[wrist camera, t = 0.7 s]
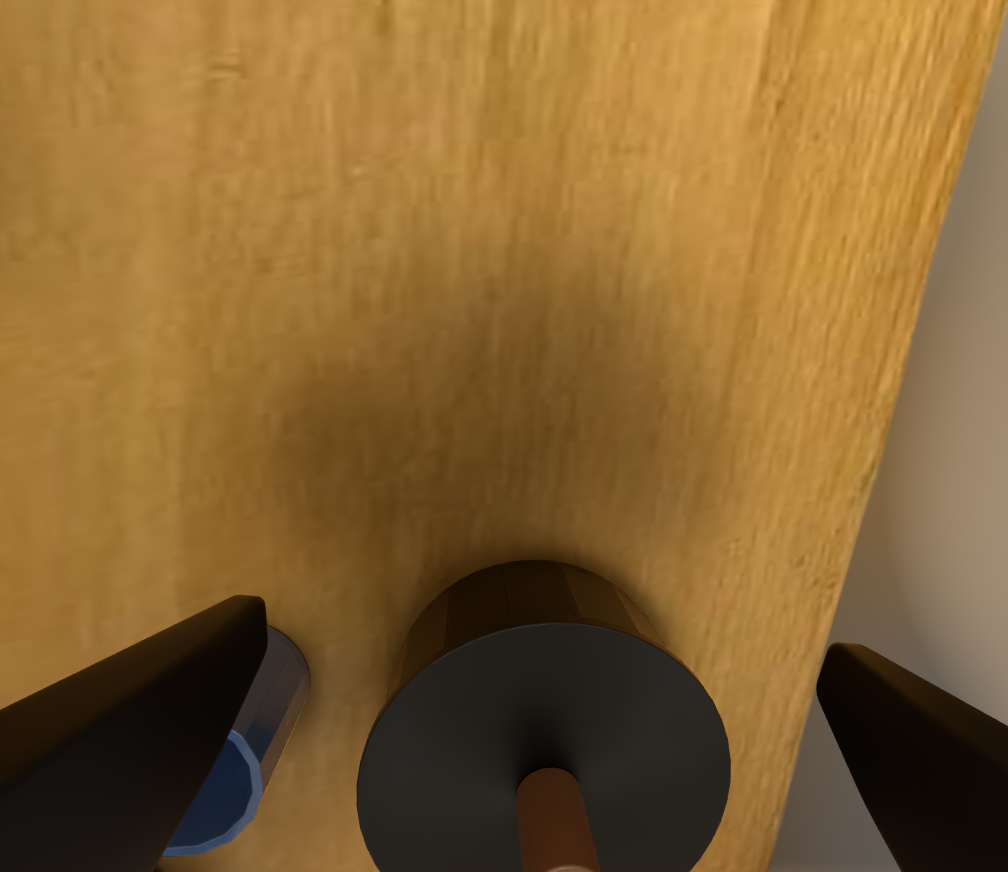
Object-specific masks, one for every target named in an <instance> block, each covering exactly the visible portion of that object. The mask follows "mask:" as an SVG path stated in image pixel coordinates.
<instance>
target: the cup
mask: <svg viewBox="0 0 1008 872" xmlns="http://www.w3.org/2000/svg"><path fill="white" fill-rule="evenodd" d="M267 632H268V646H267V651H266V654H265V657H264V659H263V661H262V663H261V666H260V668H259V670H258V672H257V674H256V677H255V679H254V681H253V683H252V686H251V688H250V690H249V692H248V694H247V697H246V699H245V701H244V703H243V705H242V708H241V710H240V712H239V714H238V716H237V719H236V721H235V723H234V725H233V727H232V730H231V732H230V734H229V736H228V738H227V740H226V742H225V745H224V747H223V749H222V751H221V753H220V755H219V757H218V758H217V760H216V762H215V764H214V766H213V767H212V769H211V771H210V773H209V775H208V776H207V778H206V780H205V782H204V783H203V785H202V787H201V789H200V790H199V792H198V794H197V796H196V797H195V799H194V801H193V803H192V804H191V806H190V808H189V809H188V811H187V813H186V815H185V816H184V818H183V820H182V822H181V823H180V825H179V827H178V829H177V830H176V832H175V834H174V836H173V837H172V839H171V841H170V843H169V844H168V846H167V848H166V850H165V851H164V853H163V855H162V856H167V857H169V856H183V855H197V854H202V853H205V852H207V851H210V850H212V849H214V848H217V847H219V846H221V845H224V844H226V843H229V842H231V841H232V840H233V839H234V838H235V837H236V836H237V835H238V834H239V833H240V832H241V831H242V830H243V829H244V828H245V827H246V826H247V825H249V824H250V823H251V822H252V821H253V819H254V818H255V816H256V813H257V811H258V809H259V807H260V804H261V802H262V800H263V798H264V796H265V793H266V791H267V789H268V787H269V784H270V782H271V780H272V778H273V776H274V773H275V771H276V769H277V767H278V764H279V762H280V760H281V758H282V756H283V753H284V751H285V749H286V747H287V744H288V742H289V740H290V738H291V736H292V733H293V731H294V729H295V727H296V724H297V722H298V720H299V718H300V715H301V712H302V710H303V707H304V705H305V703H306V701H307V697H308V694H309V687H310V678H309V672H308V668H307V665H306V662H305V660H304V658H303V656H302V654H301V652H300V651H299V649H298V648H297V647H296V646H295V645H294V643H293V642H292V641H291V640H289V639H288V638H287V637H286V636H285V635H283V634H282V633H280V632H279V631H277V630H275V629H273V628H271V627H269V626H267Z"/></svg>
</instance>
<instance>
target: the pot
mask: <svg viewBox="0 0 1008 872" xmlns="http://www.w3.org/2000/svg"><path fill="white" fill-rule="evenodd" d="M546 615H557V616H579V617H586V618H593V619H599V620H603V621H606V622H610V623H614V624H618V625H621V626H624V627H626V628H628V629H631V630H633V631H636V632H638V633H640V634H643V635H645V636H647V637H648V638H650V639H652V640H653V641H655V642H657V643H659V644H660V645H662V646H664V647H665V648H666V646H665V645H664V643H663V642H662V640H661V639H660V637H659V635H658V634H657V632H656V631H655V629H654V628H653V626H652V624H651V623H650V621H649V620H648V618H647V617H646V615H645V614H644V613H643V612H642V611H640V610H639V609H638V608H637V606H636V605H635V604H634V603H633V602H632V601H631V600H630V599H629V598H628V596H627V595H626V594H625V593H623V592H622V591H621V590H620V589H618V588H617V587H616V586H615V585H614V584H612V583H611V582H609V581H607V580H606V579H604V578H602V577H601V576H599V575H597V574H595V573H592V572H590V571H588V570H585V569H583V568H580V567H577V566H573V565H570V564H566V563H560V562H554V561H545V560H526V561H515V562H509V563H504V564H500V565H495V566H492V567H489V568H486V569H483V570H481V571H478V572H475V573H473V574H471V575H469V576H467V577H465V578H463V579H461V580H459V581H458V582H456V583H455V584H453V585H452V586H450V587H449V588H447V589H446V590H445V591H443V592H442V593H441V594H440V595H439V596H438V597H436V598H435V599H434V600H433V601H432V602H431V603H430V604H429V605H428V606H427V607H426V609H425V610H424V611H423V612H422V613H421V614H420V615H419V617H418V618H417V620H416V621H415V623H414V624H413V626H412V627H411V629H410V631H409V633H408V635H407V637H406V639H405V641H404V643H403V646H402V649H401V652H400V655H399V658H398V661H397V663H396V666H395V668H394V671H393V673H392V678H391V682H390V686H389V691H388V695H387V699H386V702H387V700H388V699H389V697H390V696H391V694H392V693H393V692H394V691H395V689H396V688H397V687H398V686H399V685H400V684H401V683H402V682H403V680H404V679H405V678H406V677H407V676H408V675H409V674H410V673H411V672H412V671H414V670H415V669H416V668H417V667H418V666H419V665H421V664H422V663H423V662H424V661H425V660H426V659H427V658H429V657H430V656H432V655H433V654H435V653H436V652H438V651H439V650H441V649H442V648H444V647H445V646H447V645H448V644H450V643H452V642H454V641H456V640H458V639H460V638H462V637H464V636H466V635H468V634H470V633H472V632H475V631H478V630H481V629H484V628H486V627H489V626H492V625H495V624H498V623H503V622H507V621H511V620H516V619H520V618H527V617H537V616H546ZM666 649H667V648H666Z"/></svg>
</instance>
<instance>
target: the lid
mask: <svg viewBox="0 0 1008 872" xmlns="http://www.w3.org/2000/svg"><path fill="white" fill-rule="evenodd" d="M730 777H731V759H730V752H729V744H728V738H727V735H726V732H725V728H724V725H723V722H722V719H721V717H720V715H719V713H718V711H717V708H716V706H715V704H714V702H713V700H712V699H711V697H710V696H709V694H708V693H707V691H706V690H705V689H704V687H703V686H702V684H701V683H700V681H699V680H698V678H697V677H696V676H695V675H694V674H693V672H692V671H691V670H690V669H689V668H688V667H687V666H686V665H685V664H684V663H683V662H682V661H681V660H680V659H679V658H678V657H676V656H675V655H674V654H672V653H671V652H670V651H669V650H667V649H666V648H665V647H664V646H662V645H660V644H659V643H657V642H655V641H653V640H652V639H650V638H648V637H647V636H645V635H643V634H640V633H638V632H636V631H633V630H631V629H628V628H626V627H624V626H621V625H618V624H614V623H610V622H606V621H603V620H599V619H593V618H586V617H579V616H557V615H546V616H537V617H527V618H520V619H516V620H511V621H507V622H503V623H498V624H495V625H492V626H489V627H486V628H484V629H481V630H478V631H475V632H472V633H470V634H468V635H466V636H464V637H462V638H460V639H458V640H456V641H454V642H452V643H450V644H448V645H447V646H445V647H444V648H442V649H441V650H439V651H438V652H436V653H435V654H433V655H432V656H430V657H429V658H427V659H426V660H425V661H424V662H423V663H422V664H421V665H419V666H418V667H417V668H416V669H415V670H414V671H412V672H411V673H410V674H409V675H408V676H407V677H406V678H405V679H404V680H403V682H402V683H401V684H400V685H399V686H398V687H397V688H396V689H395V691H394V692H393V693H392V694H391V696H390V697H389V699H388V700H387V702H386V703H385V705H384V706H383V707H382V709H381V710H380V712H379V714H378V716H377V718H376V720H375V722H374V724H373V726H372V728H371V730H370V732H369V735H368V738H367V741H366V744H365V747H364V750H363V754H362V757H361V761H360V767H359V773H358V779H357V811H358V817H359V824H360V829H361V832H362V835H363V838H364V841H365V844H366V847H367V849H368V851H369V853H370V855H371V857H372V859H373V861H374V863H375V865H376V867H377V868H378V869H379V871H380V872H690V871H691V869H692V868H693V867H694V866H695V865H696V863H697V862H698V861H699V860H700V858H701V857H702V855H703V854H704V852H705V851H706V849H707V847H708V846H709V844H710V843H711V841H712V839H713V837H714V835H715V833H716V831H717V829H718V827H719V824H720V822H721V819H722V816H723V813H724V810H725V807H726V804H727V799H728V793H729V787H730Z"/></svg>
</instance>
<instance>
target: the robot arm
mask: <svg viewBox="0 0 1008 872" xmlns="http://www.w3.org/2000/svg"><path fill="white" fill-rule="evenodd" d="M267 646H268V632H267V619H266V606H265V602H264V600H263V599H262V598H261V597H259V596H247V595H235V596H232V597H230V598H228V599H226V600H224V601H222V602H220V603H218V604H216V605H214V606H212V607H210V608H208V609H206V610H204V611H202V612H200V613H198V614H196V615H194V616H191V617H189V618H187V619H185V620H183V621H181V622H179V623H177V624H175V625H173V626H171V627H169V628H167V629H165V630H163V631H161V632H159V633H157V634H155V635H153V636H151V637H148V638H146V639H144V640H142V641H140V642H138V643H136V644H134V645H132V646H130V647H128V648H126V649H124V650H122V651H120V652H118V653H116V654H114V655H112V656H110V657H107V658H105V659H103V660H101V661H99V662H97V663H95V664H93V665H91V666H89V667H87V668H85V669H83V670H81V671H79V672H77V673H75V674H73V675H71V676H69V677H67V678H64V679H62V680H60V681H58V682H56V683H54V684H52V685H50V686H48V687H46V688H44V689H42V690H40V691H38V692H36V693H34V694H32V695H30V696H28V697H26V698H24V699H21V700H19V701H17V702H15V703H13V704H11V705H9V706H7V707H5V708H3V709H1V710H0V872H153V870H154V869H155V867H156V865H157V864H158V862H159V860H160V858H161V857H162V855H163V853H164V851H165V850H166V848H167V846H168V844H169V843H170V841H171V839H172V837H173V836H174V834H175V832H176V830H177V829H178V827H179V825H180V823H181V822H182V820H183V818H184V816H185V815H186V813H187V811H188V809H189V808H190V806H191V804H192V803H193V801H194V799H195V797H196V796H197V794H198V792H199V790H200V789H201V787H202V785H203V783H204V782H205V780H206V778H207V776H208V775H209V773H210V771H211V769H212V767H213V766H214V764H215V762H216V760H217V758H218V757H219V755H220V753H221V751H222V749H223V747H224V745H225V742H226V740H227V738H228V736H229V734H230V732H231V730H232V727H233V725H234V723H235V721H236V719H237V716H238V714H239V712H240V710H241V708H242V705H243V703H244V701H245V699H246V697H247V694H248V692H249V690H250V688H251V686H252V683H253V681H254V679H255V677H256V674H257V672H258V670H259V668H260V666H261V663H262V661H263V659H264V657H265V654H266V651H267ZM816 691H817V696H818V700H819V703H820V705H821V707H822V710H823V712H824V714H825V716H826V718H827V720H828V723H829V725H830V727H831V730H832V732H833V734H834V737H835V739H836V741H837V743H838V746H839V748H840V750H841V752H842V754H843V757H844V759H845V761H846V764H847V766H848V768H849V770H850V773H851V775H852V777H853V779H854V782H855V784H856V786H857V788H858V790H859V792H860V795H861V797H862V799H863V801H864V803H865V805H866V807H867V809H868V811H869V813H870V815H871V816H872V818H873V820H874V822H875V824H876V826H877V828H878V830H879V831H880V833H881V835H882V837H883V839H884V841H885V842H886V844H887V846H888V848H889V850H890V851H891V853H892V855H893V857H894V859H895V861H896V863H897V864H898V866H899V868H900V870H901V872H1008V726H1007V725H1005V724H1003V723H1001V722H1000V721H998V720H996V719H994V718H992V717H991V716H989V715H987V714H985V713H983V712H982V711H980V710H978V709H976V708H974V707H973V706H971V705H969V704H967V703H965V702H964V701H962V700H960V699H958V698H957V697H955V696H953V695H951V694H949V693H948V692H946V691H944V690H942V689H940V688H939V687H937V686H935V685H933V684H931V683H930V682H928V681H926V680H924V679H922V678H921V677H919V676H917V675H915V674H913V673H912V672H910V671H908V670H906V669H904V668H903V667H901V666H899V665H897V664H896V663H894V662H892V661H890V660H888V659H887V658H885V657H883V656H881V655H879V654H878V653H876V652H874V651H872V650H870V649H868V648H867V647H865V646H863V645H860V644H852V643H851V644H850V643H839V642H836V643H833V644H831V645H830V646H829V647H828V650H827V652H826V655H825V659H824V662H823V665H822V668H821V671H820V674H819V677H818V680H817V686H816Z"/></svg>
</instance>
